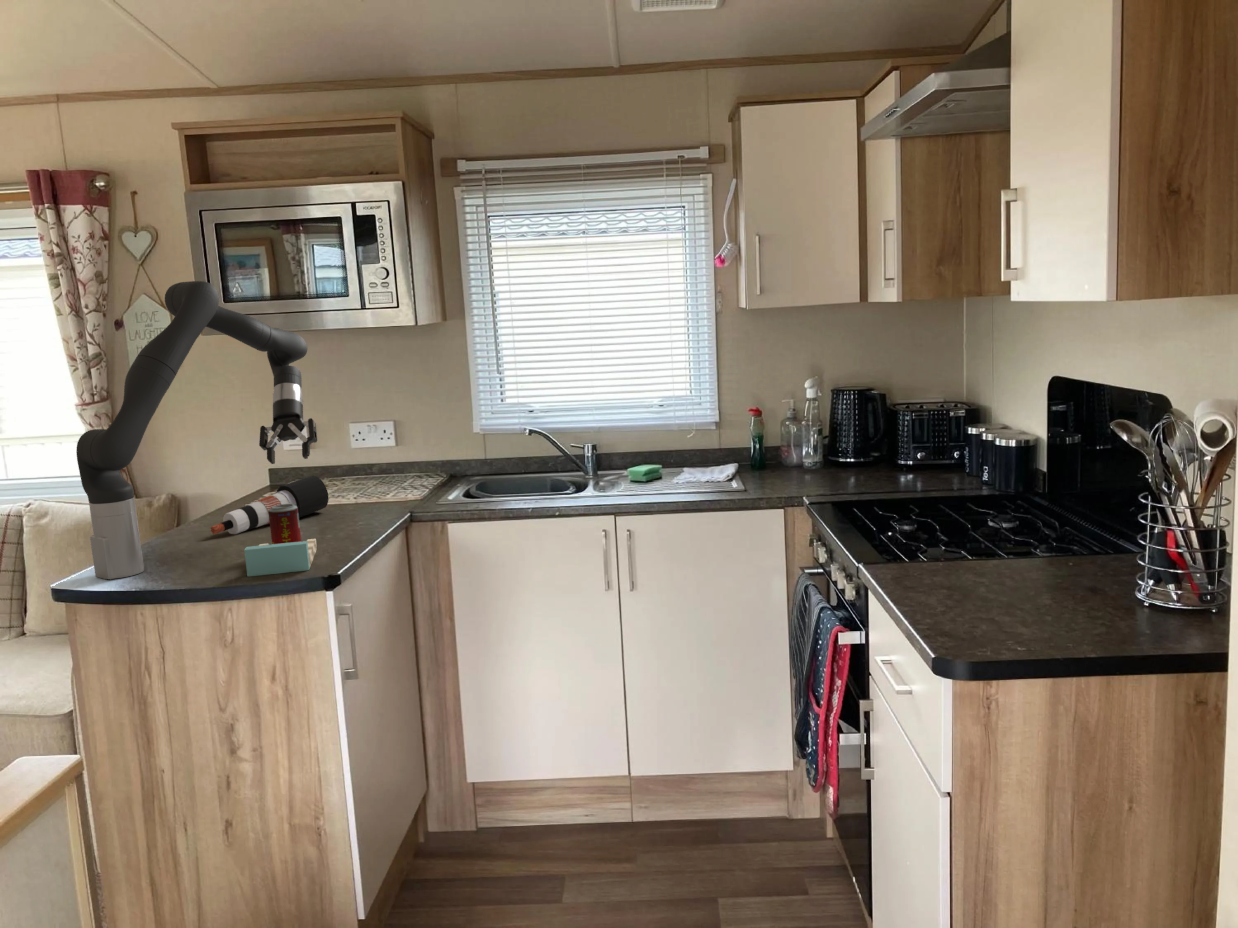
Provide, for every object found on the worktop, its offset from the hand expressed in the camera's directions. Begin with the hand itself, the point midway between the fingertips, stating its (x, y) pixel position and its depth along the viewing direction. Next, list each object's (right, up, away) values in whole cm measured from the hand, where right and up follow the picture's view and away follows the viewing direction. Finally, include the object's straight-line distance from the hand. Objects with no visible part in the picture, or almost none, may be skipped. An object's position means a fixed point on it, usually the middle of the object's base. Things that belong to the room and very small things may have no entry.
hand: (288, 460), depth 253 cm
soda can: (+5, -23, -16) cm, 28 cm away
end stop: (+9, -25, -33) cm, 42 cm away
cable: (-12, -18, +19) cm, 29 cm away
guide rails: (+7, -23, -23) cm, 33 cm away
